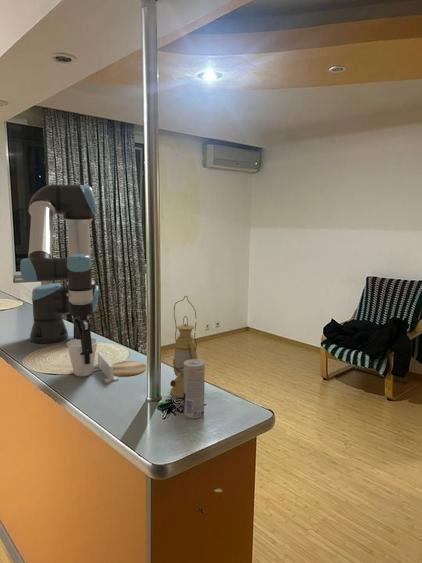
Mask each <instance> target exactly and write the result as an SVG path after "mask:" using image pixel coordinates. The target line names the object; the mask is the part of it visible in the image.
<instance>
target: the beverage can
mask: <svg viewBox="0 0 422 563" xmlns="http://www.w3.org/2000/svg"><path fill="white" fill-rule="evenodd" d="M205 368H206V366H205V361H204V360H202V359H190V360H186V361H185V362H184V398H183V416H184V417H185V418H188V419H199V418H201V417H203V416H204V414H205Z"/></svg>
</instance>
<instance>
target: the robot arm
mask: <svg viewBox="0 0 422 563" xmlns="http://www.w3.org/2000/svg"><path fill="white" fill-rule="evenodd" d="M28 214H29V215H30V228H29V229H30V230H29V239H28V241H29V242H28V254H27V255H28V257H27V258H22V259H21V260H20V263H19V264H20V266H19V267H20V269H19V270H20V276H21V279H22V280H23V281H25V282H43V281H65V280H66V281H67V282H66V286H62V284H61V282H59V283H58V282H57V283H55V282H53V283H46V284H42V285H39V286H36V287H34V288H33V289H32V291H31V293H32V294H31V296H32V297H31V301H32V315H33V317H32V318H33V323H32V327H31V330H30V335H29V340H30V342H31V343H34V344H43V345H44V344H53V343H58V342H62V341H64V340H67V339H68V338H69V331H68V329H67V327H66V324H65V321H64V316H63V315H70V316H72V317H73V339H76V340H80V339H81V345H82V353H80V355H82V373H83V374H84V373H90V372H91V354H92V352H93V351H92V343H91V338H92V335H91V333H92V332H91V322H90V321H89V319H88V316H89V315H92V314H93V313H94V312H95V311H97V307H98V303H99V302H98V301H99V285H97V284H96V281H95V279H93V274H92V273H93V270H92V269H93V268H92V267H93V265H92V257H91V236H90V234H91V232H90V223H91V222H92V221H93V219H94V216H95V215H97V208H96V201H95V196H94V191H93V188H92V187H91V186H90V185H84V184H83V185H81V184H54V183H53V184H48V185H47V184H46V186H43V187H42V188H40V189H39V190H37V191H36V192H35V193H34V194H33V196H32V197H31V199H30V201H29V204H28ZM56 215H62V216H63V220H64V221H65V222H66V223H67V235H68V236H67V240H68V256H67V257H53V222H54V220H53V219H54V217H55V216H56ZM86 350H87V351H86Z"/></svg>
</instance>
